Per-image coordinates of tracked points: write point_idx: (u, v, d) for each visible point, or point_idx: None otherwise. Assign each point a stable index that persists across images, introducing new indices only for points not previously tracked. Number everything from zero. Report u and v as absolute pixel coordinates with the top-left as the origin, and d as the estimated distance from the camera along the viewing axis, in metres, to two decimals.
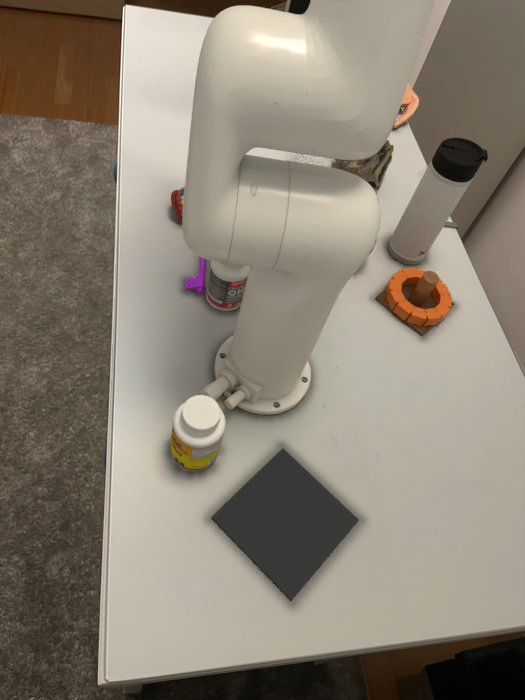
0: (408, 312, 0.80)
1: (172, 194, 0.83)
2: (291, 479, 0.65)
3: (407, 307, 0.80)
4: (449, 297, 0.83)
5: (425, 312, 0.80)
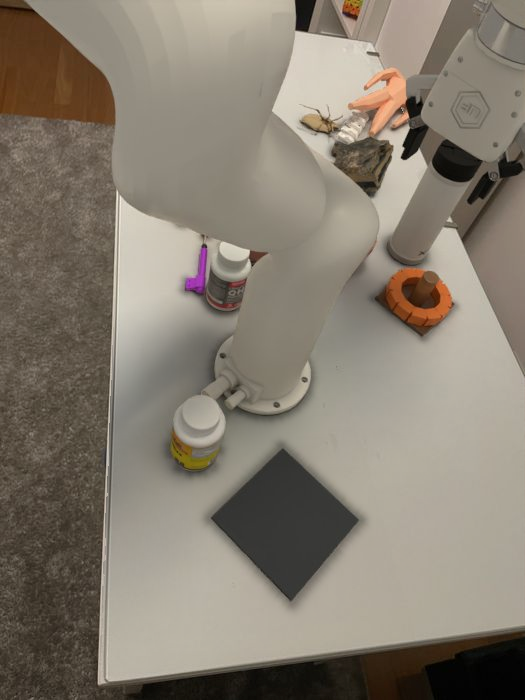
0: (408, 312, 0.80)
1: None
2: (291, 479, 0.65)
3: (407, 307, 0.80)
4: (449, 297, 0.83)
5: (425, 312, 0.80)
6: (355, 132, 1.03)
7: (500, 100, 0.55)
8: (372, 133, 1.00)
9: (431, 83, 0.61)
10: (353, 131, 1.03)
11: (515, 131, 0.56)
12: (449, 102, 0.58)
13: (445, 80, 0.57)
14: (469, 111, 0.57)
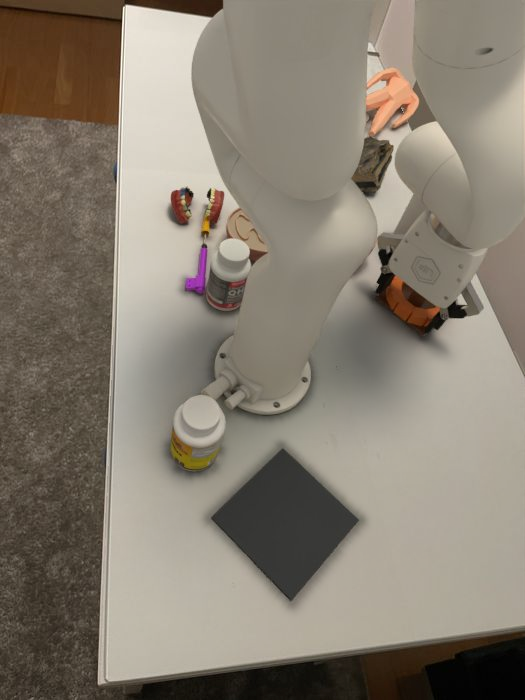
0: (408, 312, 0.80)
1: (172, 194, 0.83)
2: (291, 479, 0.65)
3: (407, 307, 0.80)
4: None
5: (425, 312, 0.80)
6: None
7: (447, 268, 0.68)
8: (372, 133, 1.00)
9: (397, 242, 0.74)
10: None
11: (461, 289, 0.70)
12: (409, 261, 0.72)
13: (406, 245, 0.71)
14: (425, 271, 0.71)
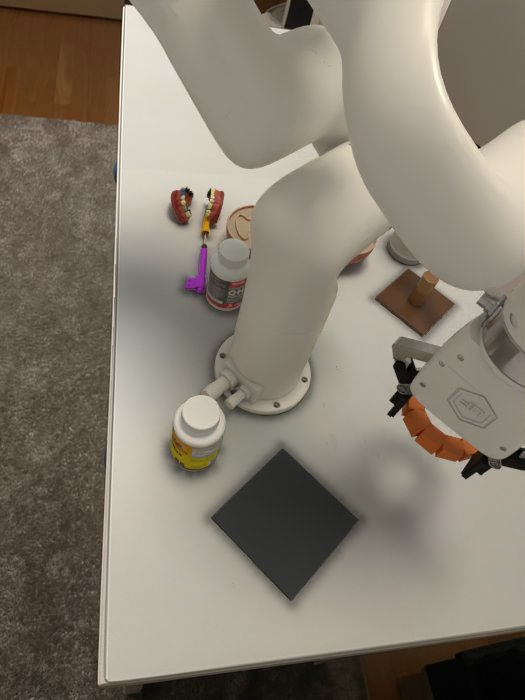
0: (437, 446, 0.54)
1: (172, 194, 0.83)
2: (291, 479, 0.65)
3: (435, 437, 0.55)
4: None
5: (461, 443, 0.55)
6: None
7: (510, 412, 0.43)
8: None
9: (423, 356, 0.49)
10: None
11: None
12: (445, 392, 0.46)
13: (441, 370, 0.45)
14: (470, 409, 0.46)
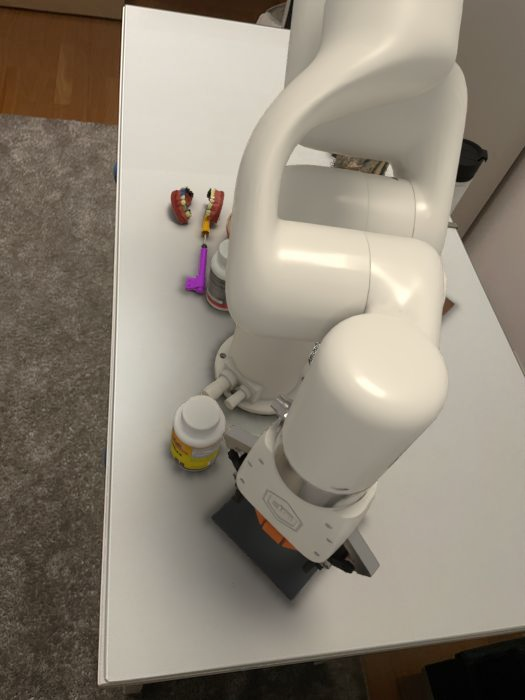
0: (280, 536, 0.52)
1: (172, 194, 0.83)
2: None
3: None
4: None
5: None
6: None
7: (310, 521, 0.41)
8: None
9: (247, 449, 0.47)
10: None
11: (338, 547, 0.42)
12: (259, 491, 0.44)
13: (251, 469, 0.44)
14: (281, 511, 0.44)
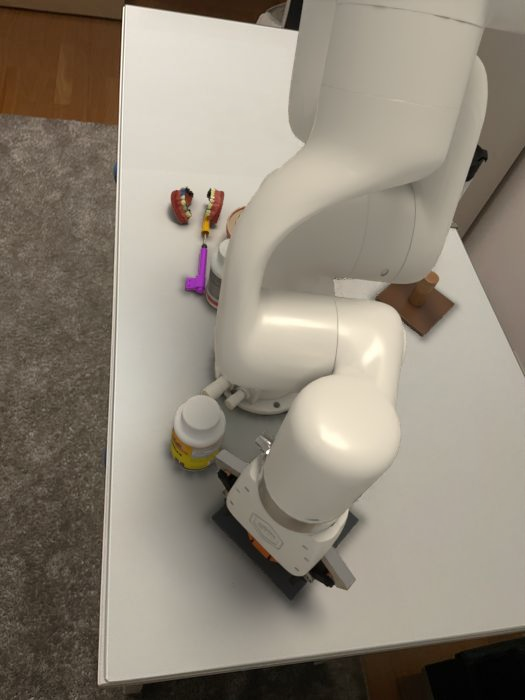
0: (268, 552, 0.58)
1: (172, 194, 0.83)
2: None
3: None
4: None
5: None
6: None
7: (290, 542, 0.47)
8: None
9: (236, 473, 0.53)
10: None
11: (315, 564, 0.48)
12: (246, 513, 0.50)
13: (238, 495, 0.49)
14: (265, 531, 0.49)
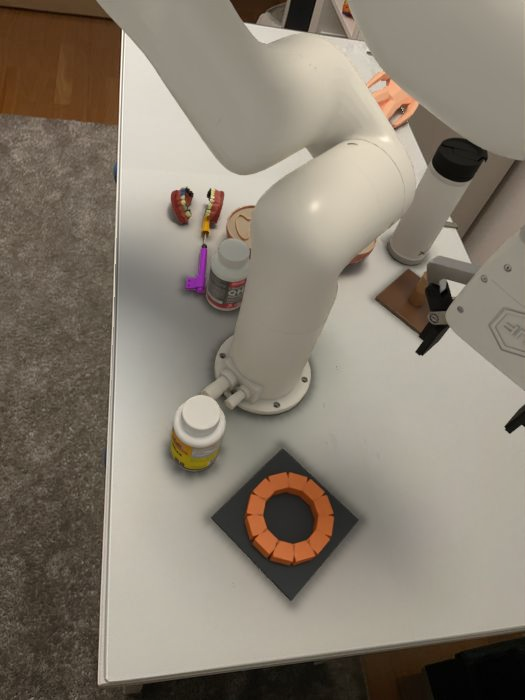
0: (268, 552, 0.58)
1: (172, 194, 0.83)
2: None
3: (268, 543, 0.58)
4: (330, 518, 0.61)
5: (293, 549, 0.58)
6: None
7: None
8: None
9: (463, 277, 0.43)
10: None
11: None
12: (487, 315, 0.40)
13: (483, 287, 0.39)
14: (516, 334, 0.39)
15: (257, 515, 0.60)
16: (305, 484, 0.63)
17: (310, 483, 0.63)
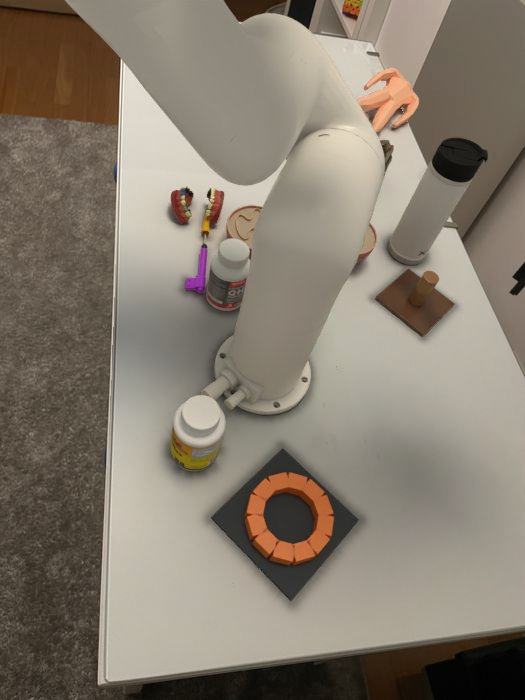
0: (268, 552, 0.58)
1: (172, 194, 0.83)
2: None
3: (268, 543, 0.58)
4: (330, 518, 0.61)
5: (293, 549, 0.58)
6: None
7: None
8: None
9: None
10: None
11: None
12: None
13: None
14: None
15: (257, 515, 0.60)
16: (305, 484, 0.63)
17: (310, 483, 0.63)
